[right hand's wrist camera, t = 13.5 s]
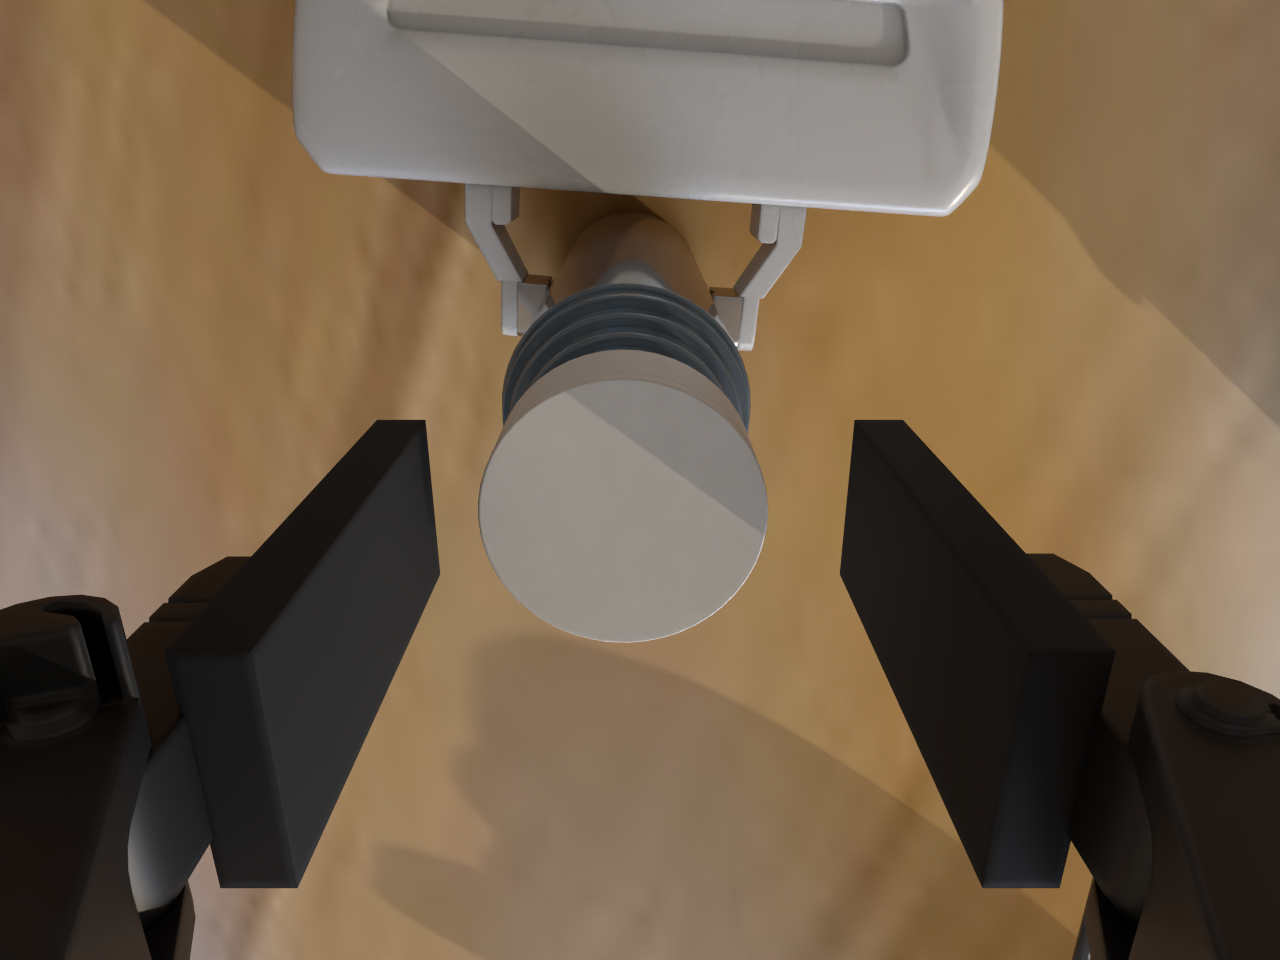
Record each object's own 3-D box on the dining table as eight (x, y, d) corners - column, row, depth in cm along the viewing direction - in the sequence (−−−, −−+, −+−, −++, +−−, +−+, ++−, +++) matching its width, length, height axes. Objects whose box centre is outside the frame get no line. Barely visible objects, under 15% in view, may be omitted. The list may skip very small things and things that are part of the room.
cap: (670, 297, 14) (676, 319, 12) (797, 514, 15) (817, 562, 14) (444, 433, 15) (418, 473, 13) (585, 628, 16) (578, 686, 14)
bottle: (653, 184, 33) (685, 272, 12) (720, 303, 35) (850, 559, 14) (538, 257, 34) (384, 454, 13) (608, 369, 36) (572, 702, 15)
